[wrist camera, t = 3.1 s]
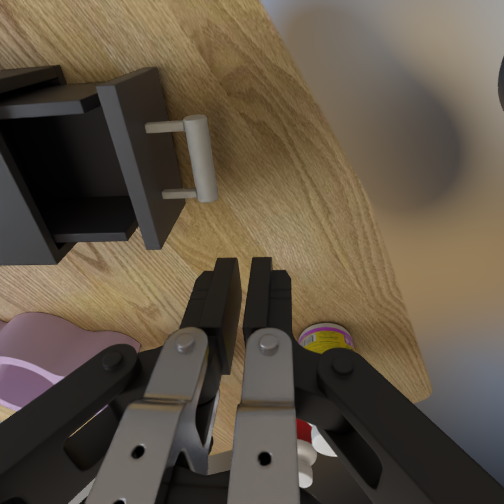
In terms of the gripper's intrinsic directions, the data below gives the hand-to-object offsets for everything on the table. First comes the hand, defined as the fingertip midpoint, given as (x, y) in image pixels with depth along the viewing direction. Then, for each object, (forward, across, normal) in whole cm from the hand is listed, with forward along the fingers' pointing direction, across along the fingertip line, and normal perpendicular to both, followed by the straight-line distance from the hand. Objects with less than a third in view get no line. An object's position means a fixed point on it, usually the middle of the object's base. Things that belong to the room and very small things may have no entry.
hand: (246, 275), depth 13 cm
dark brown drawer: (+18, +13, 0) cm, 22 cm away
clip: (+19, +29, +28) cm, 44 cm away
